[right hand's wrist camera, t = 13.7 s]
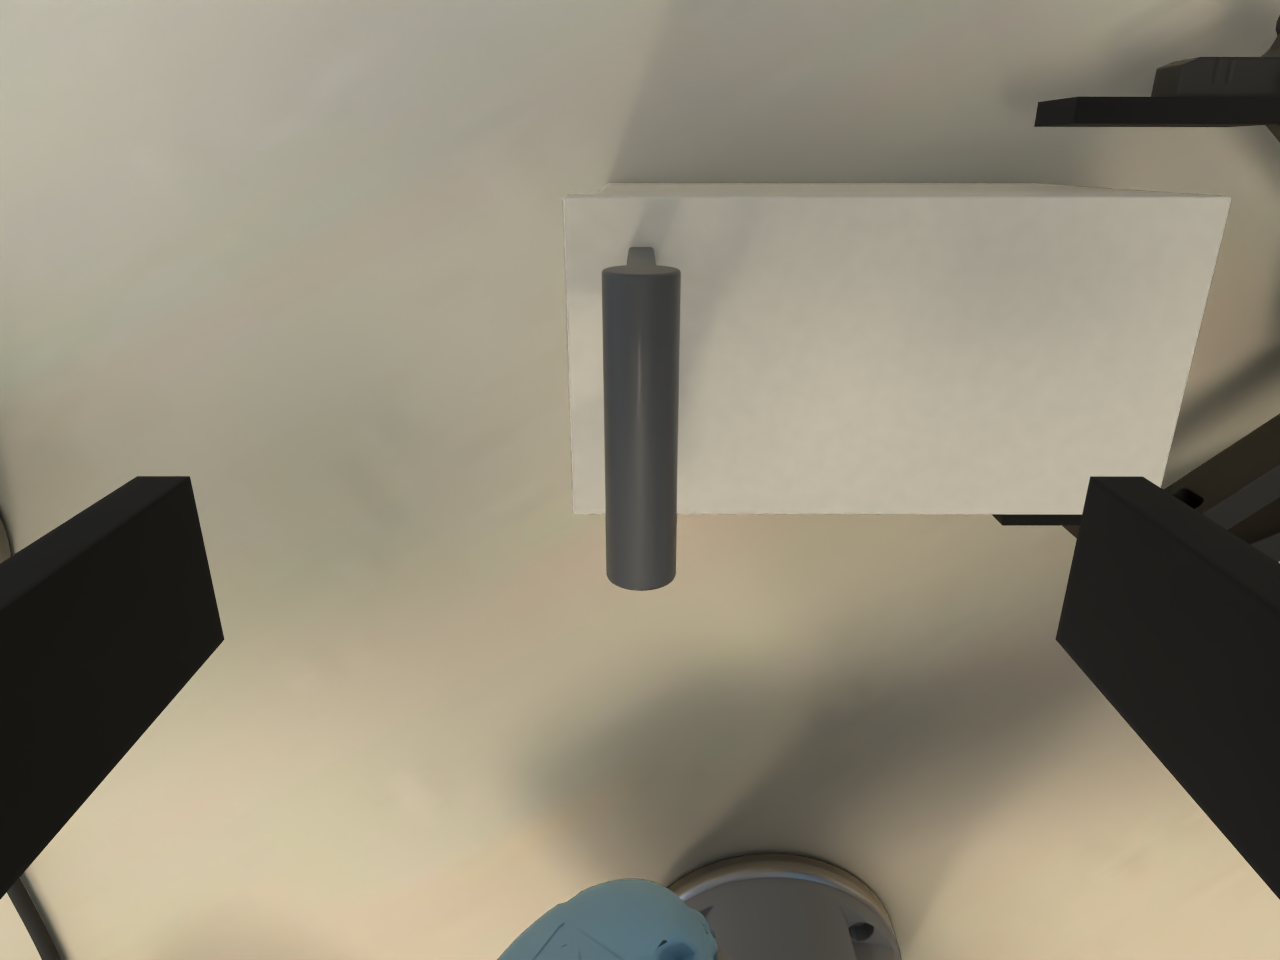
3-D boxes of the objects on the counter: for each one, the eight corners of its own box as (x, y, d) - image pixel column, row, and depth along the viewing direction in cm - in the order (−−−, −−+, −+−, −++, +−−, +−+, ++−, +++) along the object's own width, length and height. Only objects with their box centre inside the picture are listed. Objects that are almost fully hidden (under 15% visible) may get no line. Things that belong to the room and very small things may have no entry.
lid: (575, 499, 27) (549, 635, 19) (566, 194, 23) (530, 212, 16) (1133, 500, 27) (1328, 636, 19) (1205, 194, 23) (1476, 212, 16)
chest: (610, 405, 37) (598, 499, 27) (607, 183, 33) (592, 194, 23) (997, 405, 37) (1132, 499, 27) (1033, 183, 33) (1203, 194, 23)
